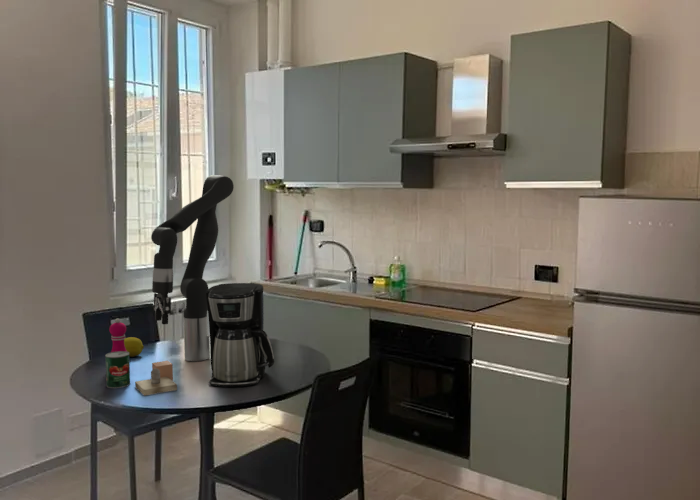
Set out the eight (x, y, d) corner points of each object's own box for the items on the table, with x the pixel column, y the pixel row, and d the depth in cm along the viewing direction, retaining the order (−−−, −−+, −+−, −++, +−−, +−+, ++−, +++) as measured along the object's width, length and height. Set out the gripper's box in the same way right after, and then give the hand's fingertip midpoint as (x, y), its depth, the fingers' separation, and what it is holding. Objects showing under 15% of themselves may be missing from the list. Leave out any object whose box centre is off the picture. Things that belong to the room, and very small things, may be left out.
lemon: (147, 354, 261) (147, 335, 260) (139, 359, 253) (138, 339, 253) (123, 353, 262) (122, 334, 262) (113, 358, 255) (113, 339, 254)
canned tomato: (116, 389, 214) (115, 358, 213) (101, 386, 218) (100, 355, 217) (135, 383, 221) (134, 353, 220) (120, 380, 225) (119, 350, 224)
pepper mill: (122, 373, 233) (120, 320, 231) (105, 372, 234) (103, 320, 232) (133, 368, 240) (131, 316, 238) (116, 367, 241) (114, 316, 240)
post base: (167, 381, 222) (166, 362, 222) (177, 389, 213) (176, 369, 213) (135, 387, 216) (134, 367, 216) (144, 395, 207) (143, 375, 207)
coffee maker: (212, 392, 211) (210, 292, 208) (196, 367, 240) (193, 280, 237) (277, 383, 220) (276, 288, 217) (254, 361, 249) (252, 277, 246)
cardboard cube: (168, 376, 229) (167, 360, 228) (173, 380, 224) (172, 364, 224) (152, 379, 226) (152, 362, 225) (157, 383, 221) (156, 366, 221)
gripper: (178, 282, 235) (177, 325, 236) (167, 277, 247) (165, 318, 248) (158, 282, 231) (157, 326, 232) (147, 278, 243) (146, 319, 243)
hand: (161, 322), depth 240 cm, fingers open, 8 cm apart
